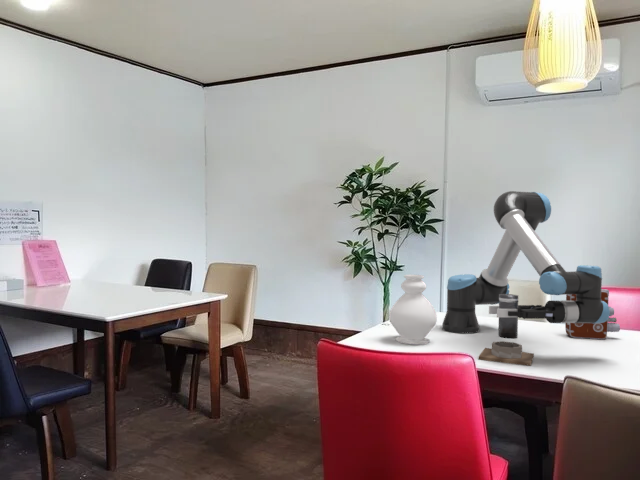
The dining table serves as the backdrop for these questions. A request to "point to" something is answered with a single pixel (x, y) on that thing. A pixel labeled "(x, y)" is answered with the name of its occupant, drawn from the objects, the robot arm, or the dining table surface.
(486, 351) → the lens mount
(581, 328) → the cine camera
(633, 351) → the dining table surface
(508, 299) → the tube
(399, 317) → the decorative vase
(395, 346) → the dining table surface
